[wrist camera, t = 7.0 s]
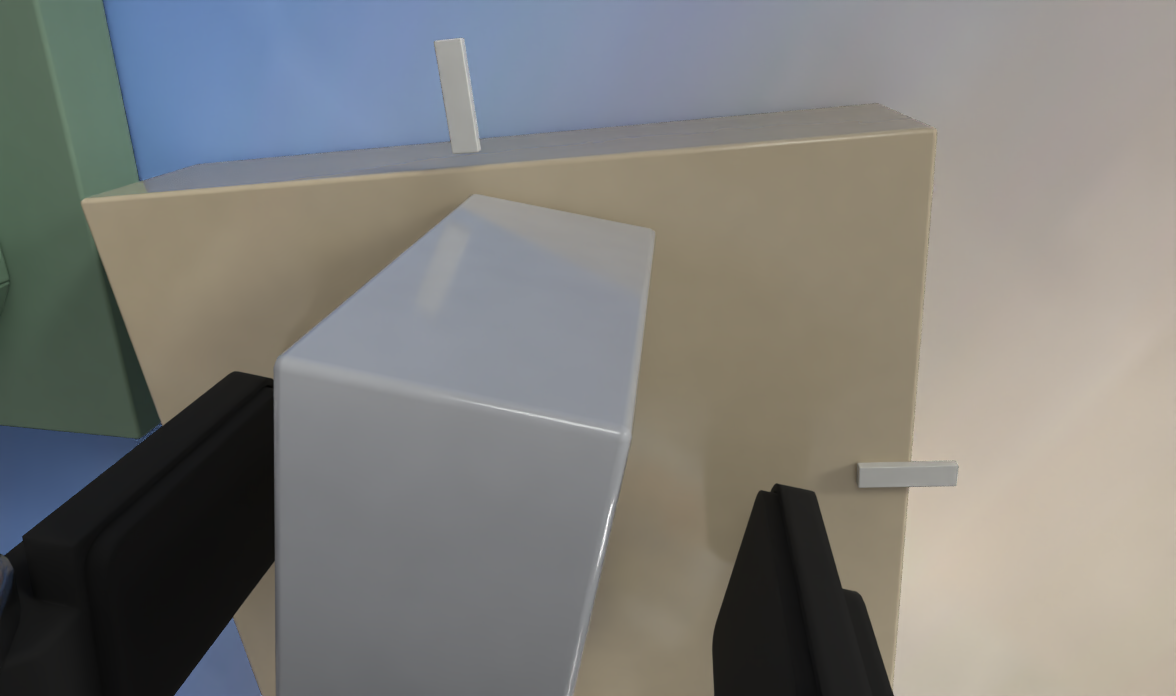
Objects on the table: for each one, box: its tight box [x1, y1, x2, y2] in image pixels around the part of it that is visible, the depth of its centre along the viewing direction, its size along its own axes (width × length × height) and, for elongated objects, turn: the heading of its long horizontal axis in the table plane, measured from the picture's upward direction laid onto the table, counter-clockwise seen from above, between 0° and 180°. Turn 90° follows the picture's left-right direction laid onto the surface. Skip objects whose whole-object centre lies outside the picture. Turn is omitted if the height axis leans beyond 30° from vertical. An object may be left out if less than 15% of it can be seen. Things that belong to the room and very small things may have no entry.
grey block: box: [273, 194, 656, 696], centre depth 9 cm, size 9×3×6 cm, turn 170°
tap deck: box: [81, 38, 959, 696], centre depth 13 cm, size 13×13×3 cm
